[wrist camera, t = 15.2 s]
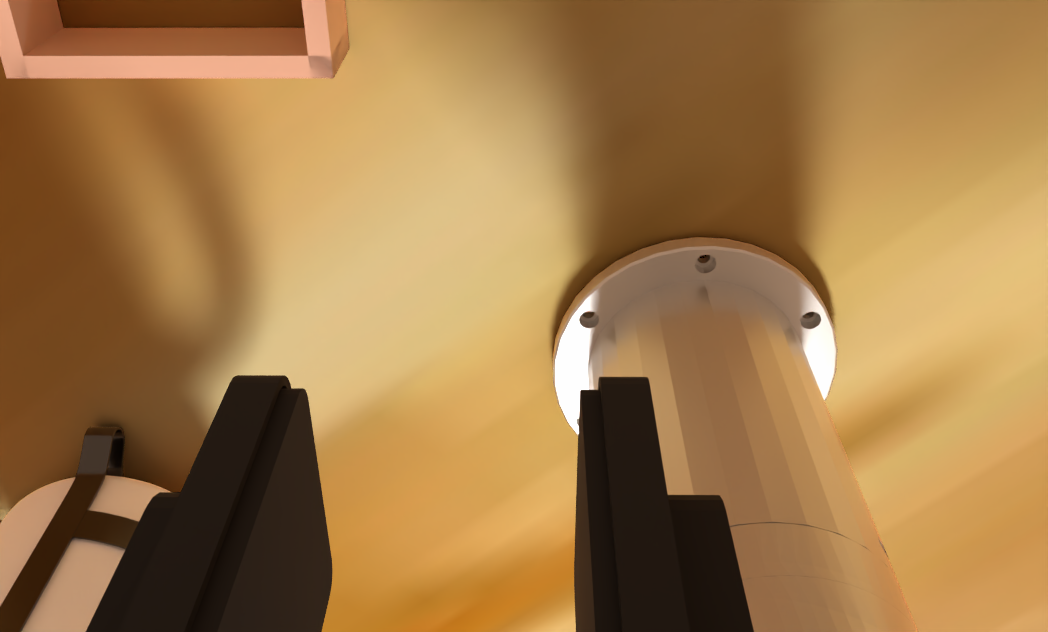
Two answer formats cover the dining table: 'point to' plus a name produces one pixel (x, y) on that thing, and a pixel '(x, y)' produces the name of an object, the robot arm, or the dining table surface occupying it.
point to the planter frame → (170, 47)
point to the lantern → (69, 540)
